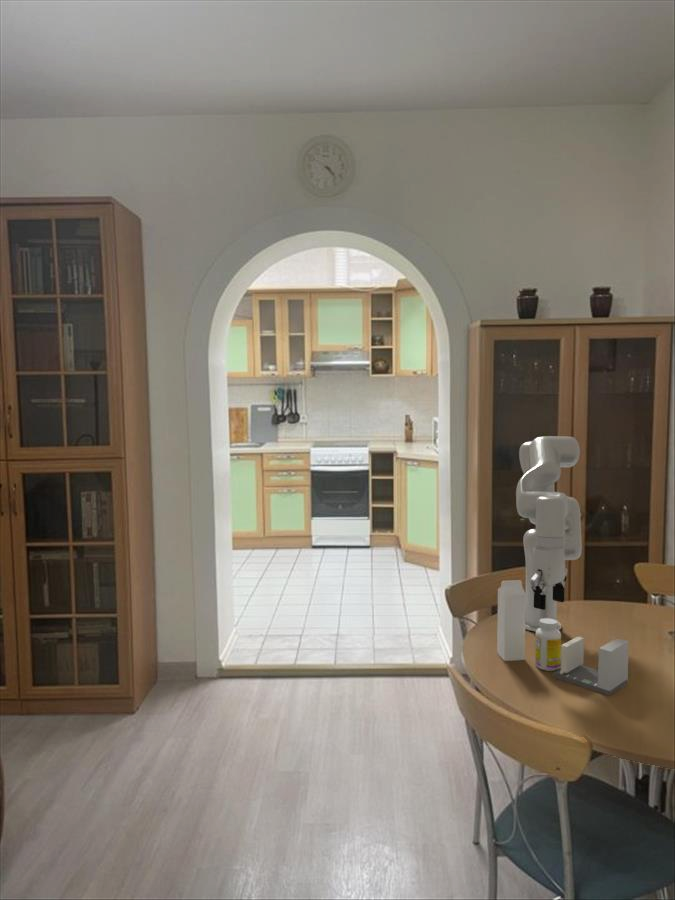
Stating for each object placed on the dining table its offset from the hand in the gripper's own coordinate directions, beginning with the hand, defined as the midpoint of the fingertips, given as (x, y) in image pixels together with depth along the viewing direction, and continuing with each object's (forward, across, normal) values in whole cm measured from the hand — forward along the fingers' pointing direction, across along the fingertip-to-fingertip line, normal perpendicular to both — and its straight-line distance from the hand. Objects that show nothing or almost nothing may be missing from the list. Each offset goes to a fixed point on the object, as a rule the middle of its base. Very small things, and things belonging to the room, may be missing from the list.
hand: (549, 604), depth 179 cm
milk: (+18, 0, -11) cm, 21 cm away
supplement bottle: (+18, -1, 0) cm, 18 cm away
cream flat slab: (+16, 0, +7) cm, 17 cm away
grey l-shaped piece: (+18, -1, +12) cm, 21 cm away
